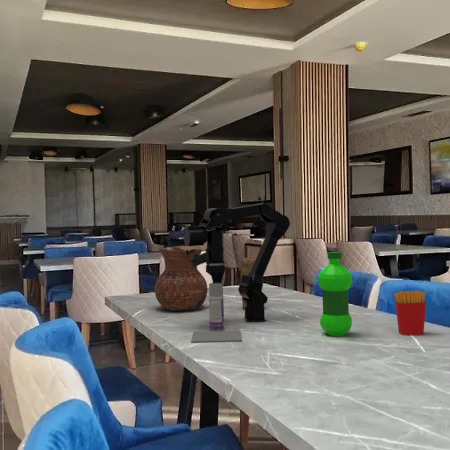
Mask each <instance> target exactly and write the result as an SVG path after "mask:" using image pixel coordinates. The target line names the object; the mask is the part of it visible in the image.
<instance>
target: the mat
mask: <svg viewBox="0 0 450 450" xmlns="http://www.w3.org/2000/svg"><path fill="white" fill-rule="evenodd" d="M230 342H234V343H235V342H243V337H242V332H241V329H239V330H222V331H211V330H208V331H207V330H206V331H205V330H204V331H202V330H201V331H193V332H192V337H191V340H190V343H191V344H194V343H199V344H200V343H230Z"/></svg>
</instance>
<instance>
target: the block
mask: <svg viewBox="0 0 450 450" xmlns="http://www.w3.org/2000/svg"><path fill="white" fill-rule="evenodd" d="M256 258H257V256H255V257H243V258H242V260H241V266H240V279H241V278H242V276H243V275H248V274H249V273H250V272H251V269H252V267H253V265H254V262H255V260H256ZM241 302H242V308H243V309H244V310H245V308H244V307H245V306H246V301H244V300H243V297H242V296H241Z"/></svg>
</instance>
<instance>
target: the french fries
mask: <svg viewBox="0 0 450 450" xmlns="http://www.w3.org/2000/svg"><path fill="white" fill-rule="evenodd" d="M425 295H426V292H425V291H423V292H422V291H419V290H418V289H416V290H405V291H403V290H400V291H399V292H394V293H393V296H394V299H395V302H394V305H395V311H396V320H397V327H398V334H400V335H402V336H419V335H424V332H425V323H426V322H425V321H426V311H427V310H426V309H427V302H426V301H425V298H426V297H425Z"/></svg>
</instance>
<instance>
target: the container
mask: <svg viewBox="0 0 450 450" xmlns="http://www.w3.org/2000/svg"><path fill="white" fill-rule="evenodd" d="M208 302H209V303H208V306H209V307H208V310H209V311H208V313H209V314H208V315H209V331H221V330H222V331H225V313H224V312H225V311H224V308H225V307H224V304H225V303H224V285H223V282H221V283H213V282H210V283H209V284H208Z"/></svg>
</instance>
